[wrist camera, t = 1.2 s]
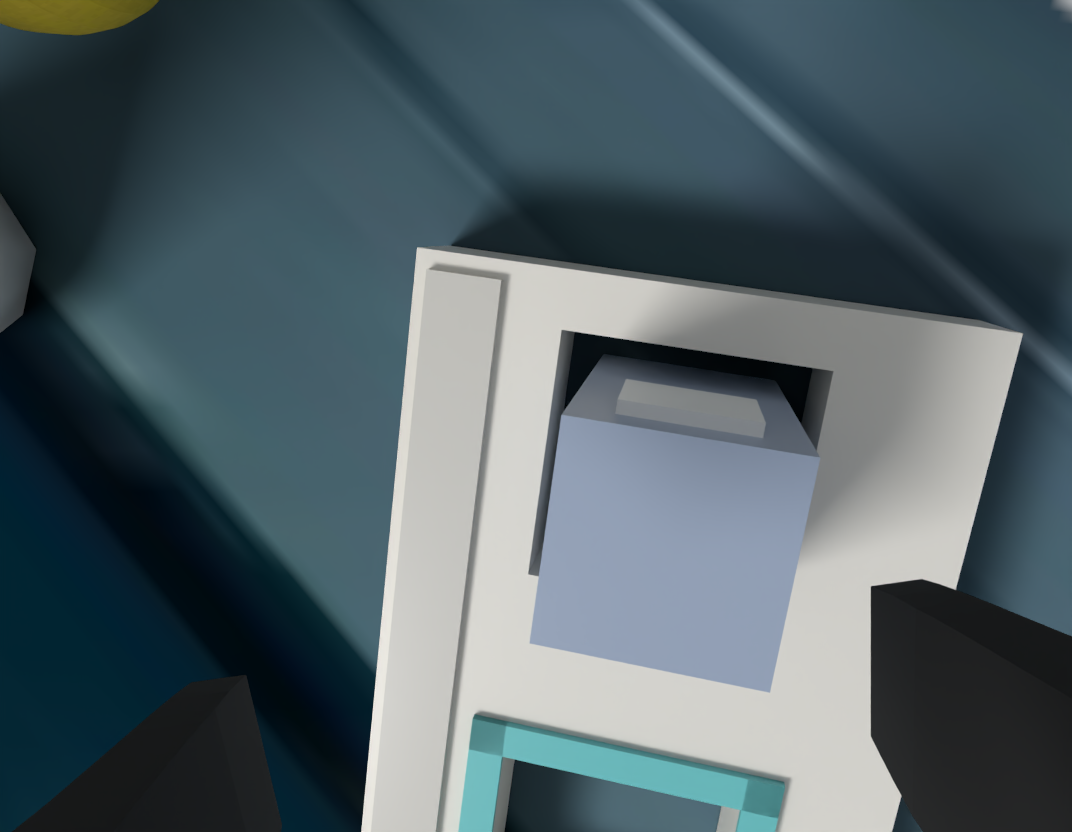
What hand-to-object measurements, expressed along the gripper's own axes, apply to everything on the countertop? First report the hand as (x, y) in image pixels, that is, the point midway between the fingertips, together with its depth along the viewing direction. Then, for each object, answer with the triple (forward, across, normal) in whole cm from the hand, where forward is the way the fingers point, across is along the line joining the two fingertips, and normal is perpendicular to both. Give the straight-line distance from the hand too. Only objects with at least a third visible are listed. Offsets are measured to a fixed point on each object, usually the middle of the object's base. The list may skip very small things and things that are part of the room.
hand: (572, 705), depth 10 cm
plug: (+11, -4, +1) cm, 11 cm away
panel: (+10, -2, +6) cm, 12 cm away
